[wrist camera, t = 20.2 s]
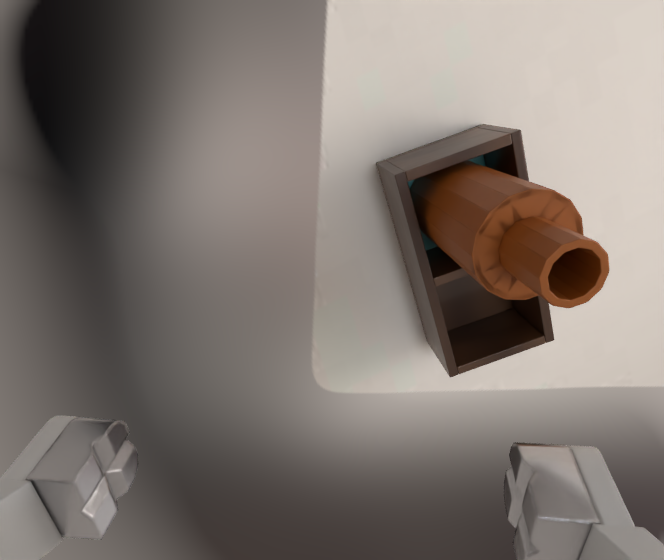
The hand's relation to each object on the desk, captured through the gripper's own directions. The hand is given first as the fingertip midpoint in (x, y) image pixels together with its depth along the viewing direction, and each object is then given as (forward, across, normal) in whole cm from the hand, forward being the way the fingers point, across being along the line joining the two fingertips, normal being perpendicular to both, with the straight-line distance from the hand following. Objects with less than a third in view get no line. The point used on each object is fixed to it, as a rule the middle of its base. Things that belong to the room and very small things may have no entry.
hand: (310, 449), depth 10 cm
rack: (+28, -6, +9) cm, 30 cm away
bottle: (+28, -6, +5) cm, 29 cm away
